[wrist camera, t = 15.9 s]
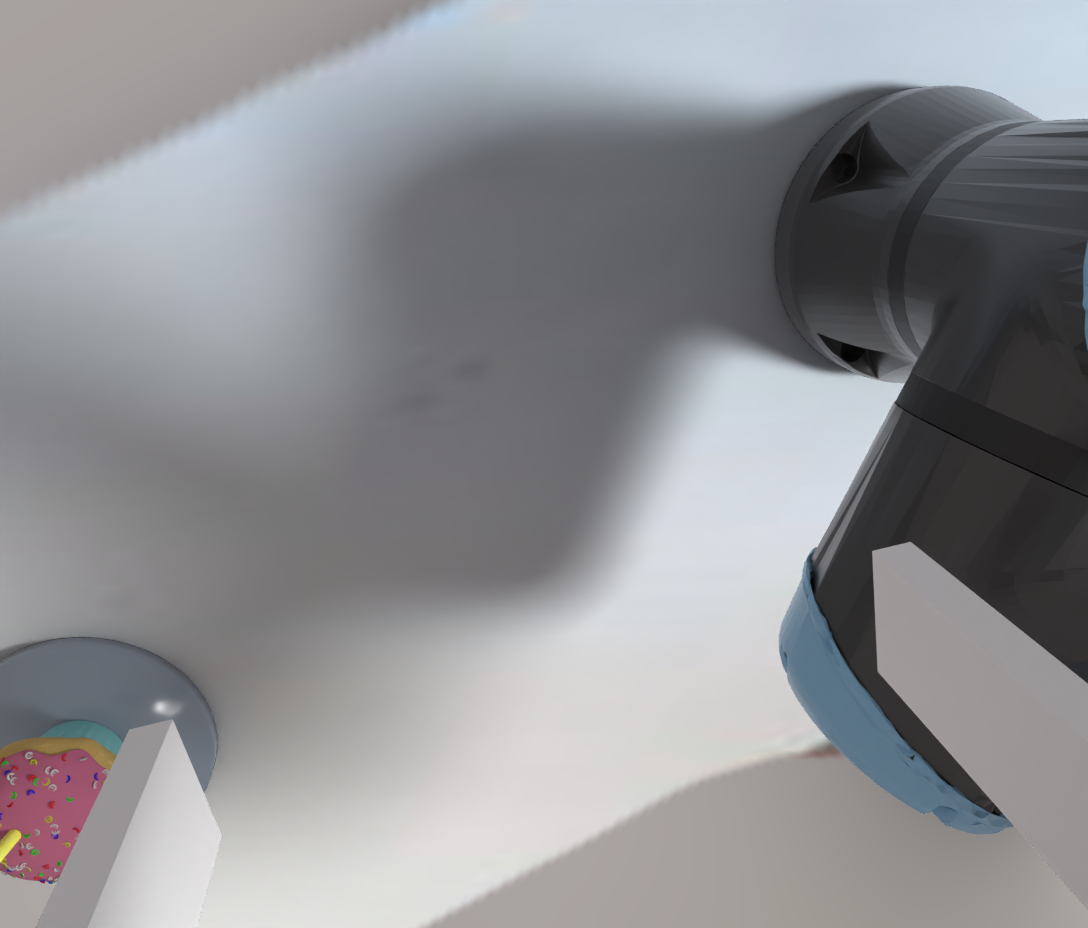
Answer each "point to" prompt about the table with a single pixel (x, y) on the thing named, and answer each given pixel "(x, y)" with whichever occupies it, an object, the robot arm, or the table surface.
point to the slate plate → (102, 694)
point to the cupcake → (50, 795)
